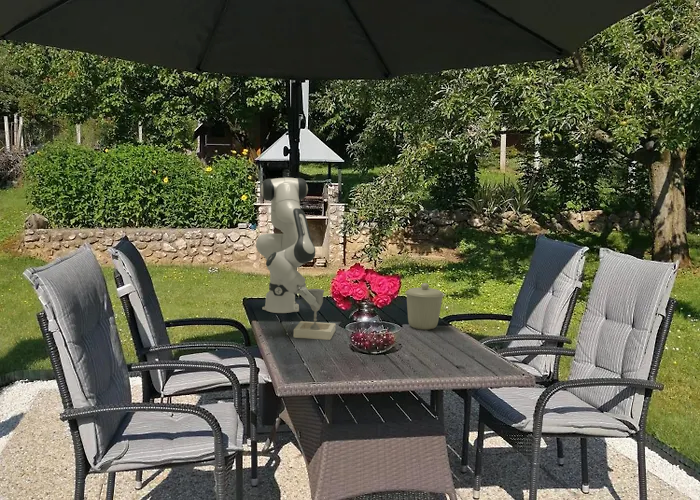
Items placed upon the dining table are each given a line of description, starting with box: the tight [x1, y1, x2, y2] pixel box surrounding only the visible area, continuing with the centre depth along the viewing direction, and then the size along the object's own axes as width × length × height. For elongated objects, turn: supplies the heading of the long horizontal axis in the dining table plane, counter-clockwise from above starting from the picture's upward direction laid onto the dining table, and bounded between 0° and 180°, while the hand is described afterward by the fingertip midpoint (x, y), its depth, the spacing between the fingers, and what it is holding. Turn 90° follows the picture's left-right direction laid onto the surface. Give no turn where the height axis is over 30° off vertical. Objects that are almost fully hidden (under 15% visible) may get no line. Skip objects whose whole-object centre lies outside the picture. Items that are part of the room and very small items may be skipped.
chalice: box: [308, 288, 325, 330], centre depth 301 cm, size 7×7×18 cm
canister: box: [404, 282, 445, 331], centre depth 321 cm, size 18×18×21 cm
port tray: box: [293, 320, 337, 341], centre depth 302 cm, size 16×16×4 cm
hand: (317, 305), depth 301 cm, fingers closed on chalice, 6 cm apart
